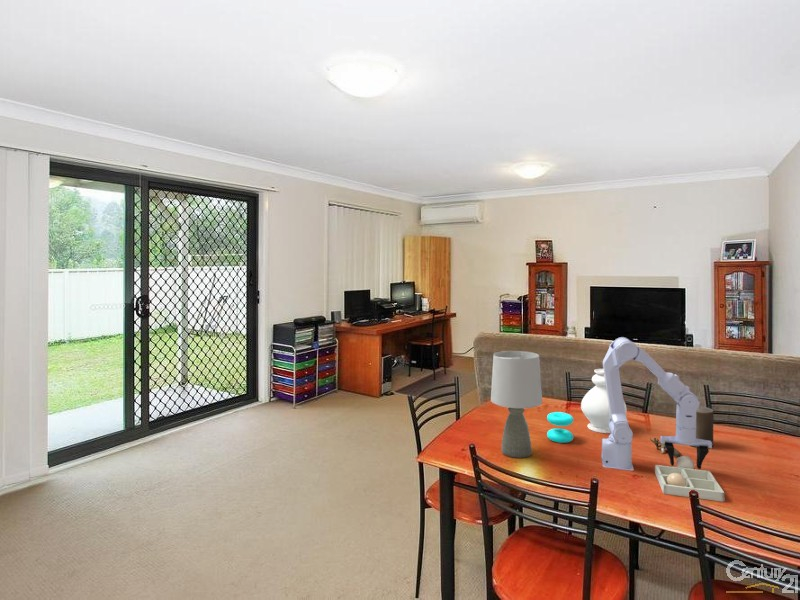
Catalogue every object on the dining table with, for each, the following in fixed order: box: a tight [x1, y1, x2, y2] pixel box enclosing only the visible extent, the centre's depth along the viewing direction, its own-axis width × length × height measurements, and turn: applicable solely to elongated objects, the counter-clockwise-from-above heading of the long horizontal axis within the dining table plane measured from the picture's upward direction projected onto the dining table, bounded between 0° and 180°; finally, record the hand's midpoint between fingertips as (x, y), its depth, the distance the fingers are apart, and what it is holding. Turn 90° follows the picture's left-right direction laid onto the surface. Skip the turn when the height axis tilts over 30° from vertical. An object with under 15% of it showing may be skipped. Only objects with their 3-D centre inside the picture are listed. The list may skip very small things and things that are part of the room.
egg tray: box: [654, 464, 725, 503], centre depth 142 cm, size 15×15×3 cm
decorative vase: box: [580, 368, 628, 434], centre depth 196 cm, size 18×18×25 cm
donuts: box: [546, 411, 574, 444], centre depth 184 cm, size 10×10×10 cm
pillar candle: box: [693, 405, 715, 448], centre depth 177 cm, size 10×10×15 cm
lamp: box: [490, 350, 543, 459], centre depth 171 cm, size 19×19×37 cm
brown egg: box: [667, 473, 686, 487], centre depth 140 cm, size 5×5×5 cm
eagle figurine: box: [649, 437, 682, 458], centre depth 169 cm, size 8×7×9 cm
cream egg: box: [676, 455, 695, 469], centre depth 154 cm, size 5×5×5 cm
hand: (685, 466), depth 154 cm, fingers open, 7 cm apart
